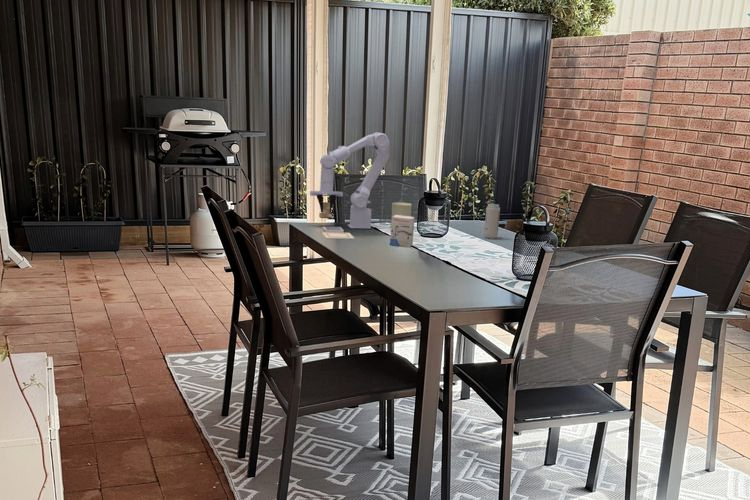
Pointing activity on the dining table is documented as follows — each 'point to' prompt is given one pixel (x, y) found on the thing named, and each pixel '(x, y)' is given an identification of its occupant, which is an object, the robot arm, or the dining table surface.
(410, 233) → the ink box
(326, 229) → the ink pad
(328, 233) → the mat
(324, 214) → the stamp
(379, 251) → the dining table surface
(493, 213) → the energy drink can
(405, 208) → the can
